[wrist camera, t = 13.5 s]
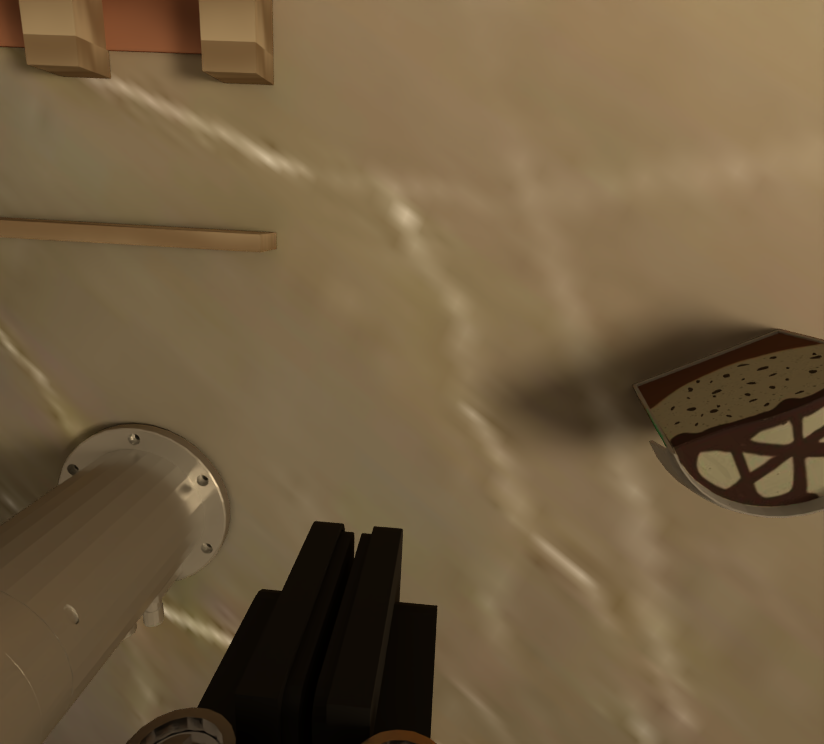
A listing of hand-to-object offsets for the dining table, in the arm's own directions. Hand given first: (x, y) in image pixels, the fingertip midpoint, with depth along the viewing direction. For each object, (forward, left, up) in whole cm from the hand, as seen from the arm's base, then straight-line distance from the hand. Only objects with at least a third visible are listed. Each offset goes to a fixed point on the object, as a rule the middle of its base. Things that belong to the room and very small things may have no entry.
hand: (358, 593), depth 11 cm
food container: (-4, -19, -27) cm, 34 cm away
